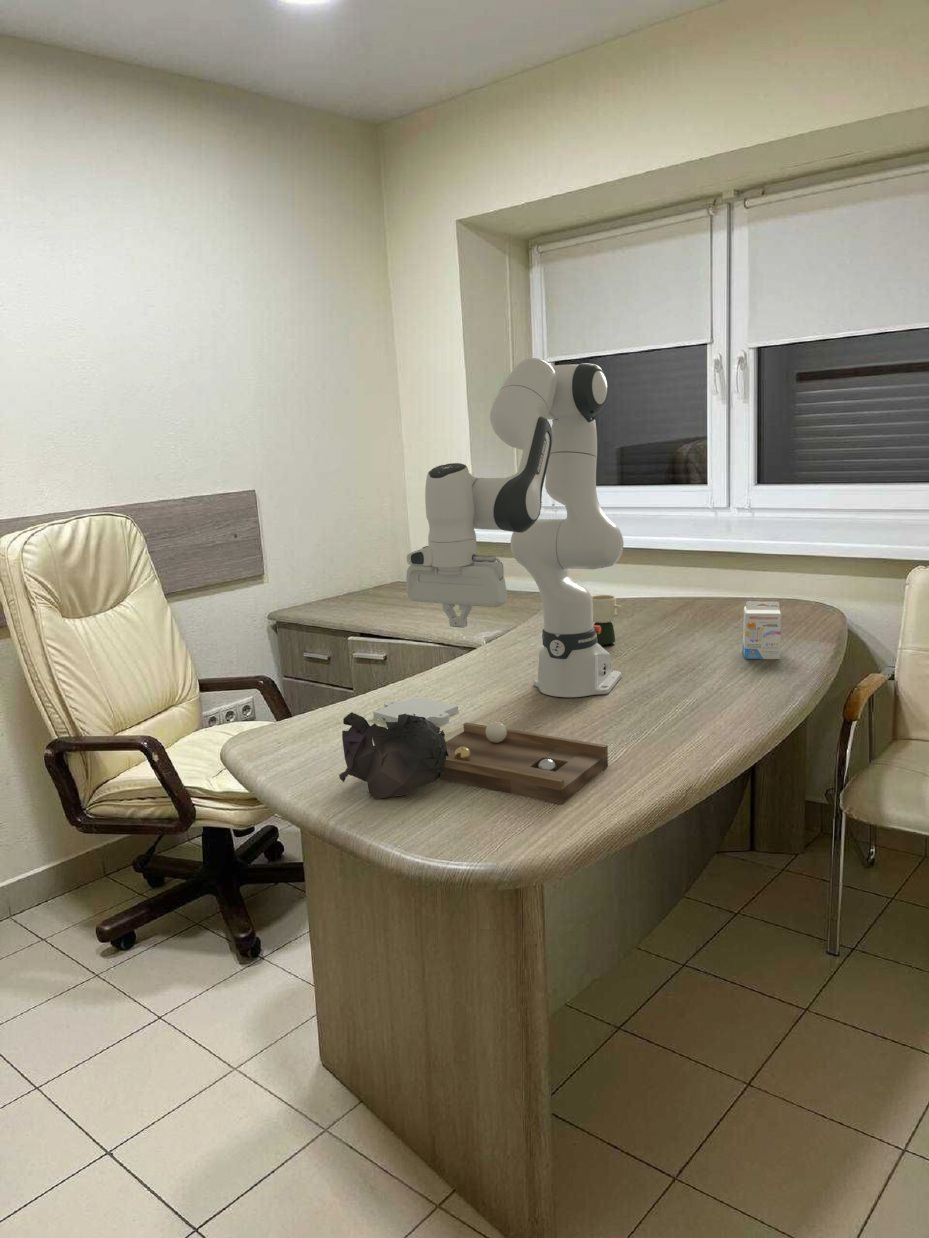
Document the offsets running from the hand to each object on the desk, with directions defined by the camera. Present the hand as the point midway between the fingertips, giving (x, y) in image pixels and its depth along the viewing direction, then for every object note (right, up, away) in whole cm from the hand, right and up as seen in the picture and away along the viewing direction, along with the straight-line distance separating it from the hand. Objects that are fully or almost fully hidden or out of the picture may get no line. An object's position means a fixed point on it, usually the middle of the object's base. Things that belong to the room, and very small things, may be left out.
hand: (458, 626), depth 171 cm
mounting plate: (-9, -20, +26) cm, 34 cm away
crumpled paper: (-10, -29, -14) cm, 33 cm away
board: (+9, -26, -7) cm, 28 cm away
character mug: (+39, -6, +76) cm, 86 cm away
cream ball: (+7, -20, -1) cm, 21 cm away
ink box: (+75, -8, +57) cm, 95 cm away
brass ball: (+1, -23, -10) cm, 25 cm away
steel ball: (+16, -25, -12) cm, 32 cm away
